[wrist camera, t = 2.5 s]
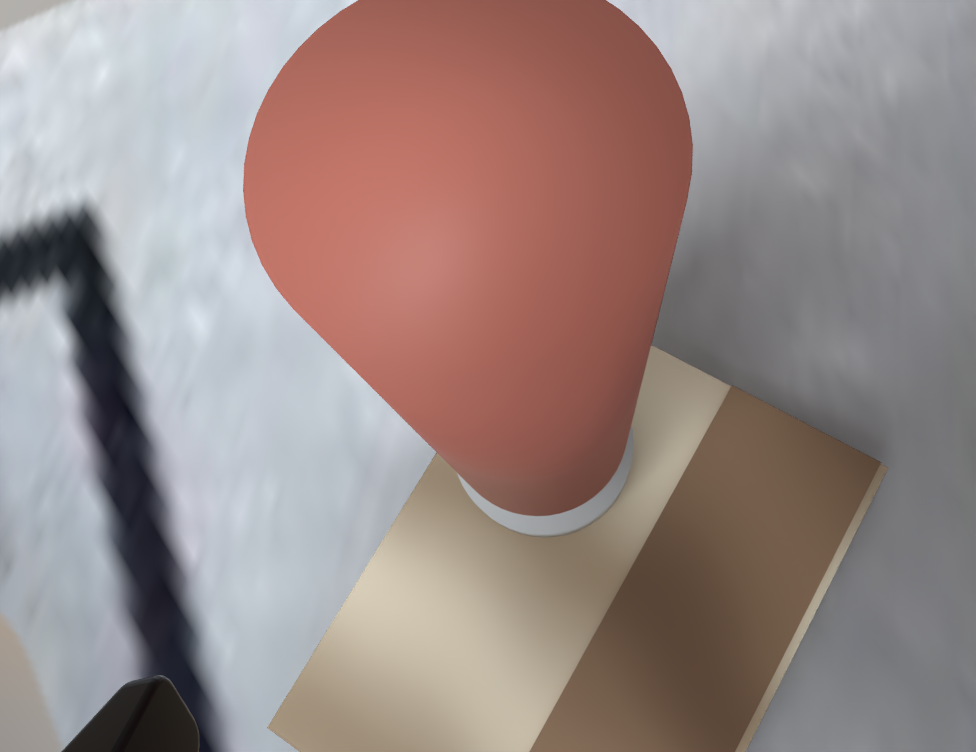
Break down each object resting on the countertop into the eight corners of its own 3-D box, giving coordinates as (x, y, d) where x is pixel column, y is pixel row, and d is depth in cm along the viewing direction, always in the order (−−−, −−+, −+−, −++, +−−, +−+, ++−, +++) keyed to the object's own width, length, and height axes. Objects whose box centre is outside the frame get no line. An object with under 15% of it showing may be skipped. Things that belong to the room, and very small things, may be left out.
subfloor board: (622, 965, 17) (625, 992, 16) (286, 720, 19) (265, 728, 18) (870, 475, 19) (889, 466, 18) (541, 303, 21) (538, 285, 20)
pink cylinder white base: (576, 570, 18) (552, 501, 6) (428, 481, 19) (125, 248, 7) (661, 420, 19) (811, 56, 6) (514, 340, 20) (389, -115, 7)
